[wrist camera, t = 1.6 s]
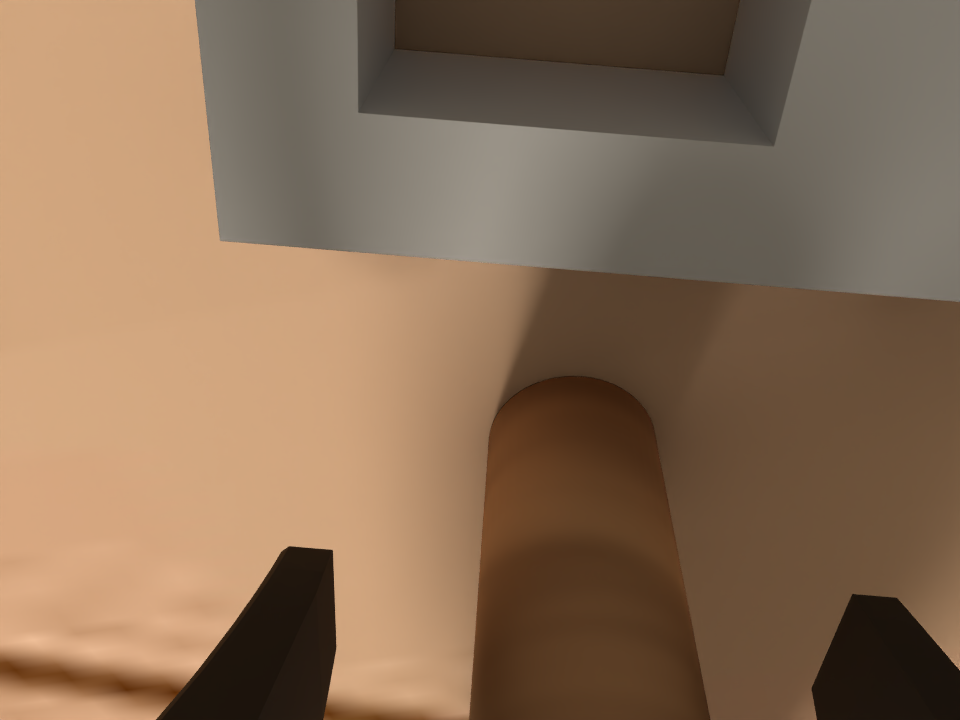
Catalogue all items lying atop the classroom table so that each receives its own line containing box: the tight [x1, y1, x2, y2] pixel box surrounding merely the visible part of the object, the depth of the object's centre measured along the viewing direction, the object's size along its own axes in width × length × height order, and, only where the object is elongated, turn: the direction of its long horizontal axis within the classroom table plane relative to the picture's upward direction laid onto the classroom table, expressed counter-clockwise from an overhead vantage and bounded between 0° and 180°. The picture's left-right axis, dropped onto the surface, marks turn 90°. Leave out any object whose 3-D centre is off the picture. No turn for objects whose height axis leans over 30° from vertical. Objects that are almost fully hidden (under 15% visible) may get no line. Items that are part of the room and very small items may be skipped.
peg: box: [469, 376, 710, 720], centre depth 12 cm, size 3×3×8 cm
